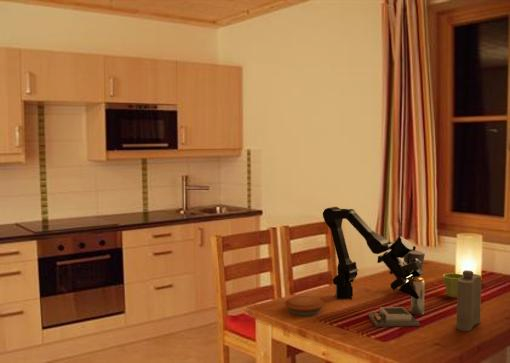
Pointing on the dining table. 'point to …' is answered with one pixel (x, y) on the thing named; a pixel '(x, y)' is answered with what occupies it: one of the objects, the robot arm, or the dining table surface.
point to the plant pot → (451, 284)
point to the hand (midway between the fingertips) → (421, 296)
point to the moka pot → (414, 256)
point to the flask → (468, 301)
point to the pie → (304, 305)
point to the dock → (393, 317)
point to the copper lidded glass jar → (418, 286)
